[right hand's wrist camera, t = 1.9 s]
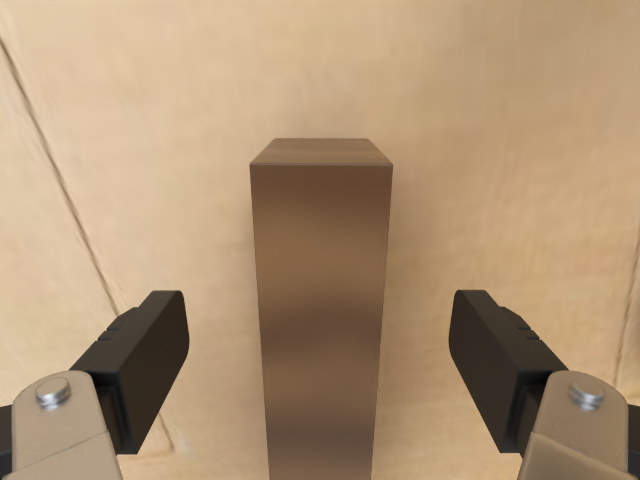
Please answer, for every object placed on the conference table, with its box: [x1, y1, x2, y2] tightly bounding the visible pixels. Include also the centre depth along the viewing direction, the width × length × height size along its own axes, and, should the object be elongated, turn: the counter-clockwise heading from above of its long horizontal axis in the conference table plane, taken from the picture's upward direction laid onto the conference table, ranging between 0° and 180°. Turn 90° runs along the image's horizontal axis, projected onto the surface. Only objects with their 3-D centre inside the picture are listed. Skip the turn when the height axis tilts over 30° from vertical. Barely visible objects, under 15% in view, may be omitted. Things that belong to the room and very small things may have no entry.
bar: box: [250, 139, 393, 480], centre depth 24 cm, size 28×6×8 cm, turn 0°
